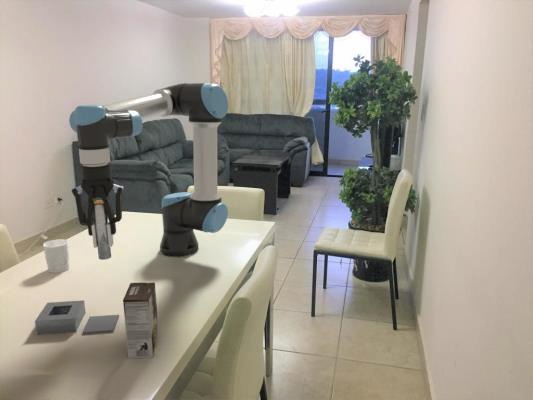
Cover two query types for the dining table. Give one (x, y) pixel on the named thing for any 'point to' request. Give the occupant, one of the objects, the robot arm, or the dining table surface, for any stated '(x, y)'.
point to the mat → (100, 324)
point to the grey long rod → (101, 230)
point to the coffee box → (141, 320)
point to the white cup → (57, 255)
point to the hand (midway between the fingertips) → (103, 245)
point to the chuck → (60, 317)
